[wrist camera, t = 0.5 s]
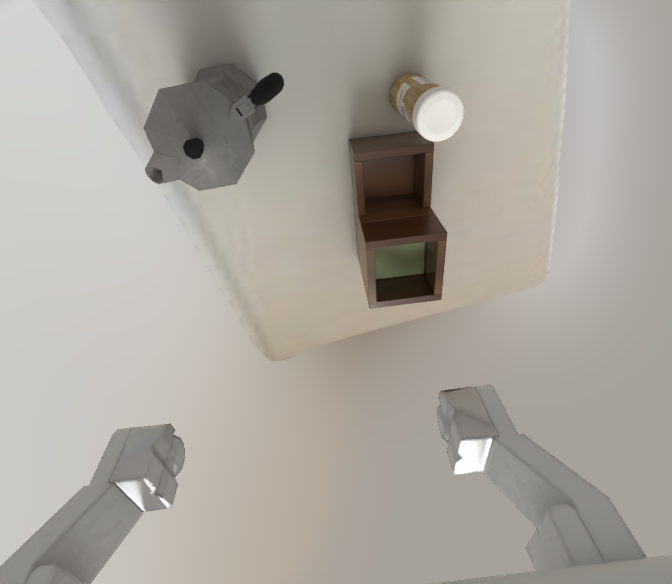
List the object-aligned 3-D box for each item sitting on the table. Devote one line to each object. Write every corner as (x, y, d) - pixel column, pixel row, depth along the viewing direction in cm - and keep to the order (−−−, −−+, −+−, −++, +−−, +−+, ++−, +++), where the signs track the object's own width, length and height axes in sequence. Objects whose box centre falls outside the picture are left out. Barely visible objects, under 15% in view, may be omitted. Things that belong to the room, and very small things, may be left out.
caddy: (348, 139, 48) (361, 173, 37) (421, 130, 47) (453, 162, 37) (357, 257, 58) (369, 308, 48) (416, 249, 58) (441, 299, 48)
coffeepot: (214, 169, 49) (176, 233, 34) (158, 103, 43) (87, 145, 29) (310, 100, 44) (313, 140, 30) (261, 18, 39) (237, 18, 25)
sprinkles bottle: (382, 92, 44) (407, 115, 34) (413, 62, 43) (449, 77, 32) (403, 122, 47) (433, 152, 36) (433, 95, 45) (474, 118, 34)
